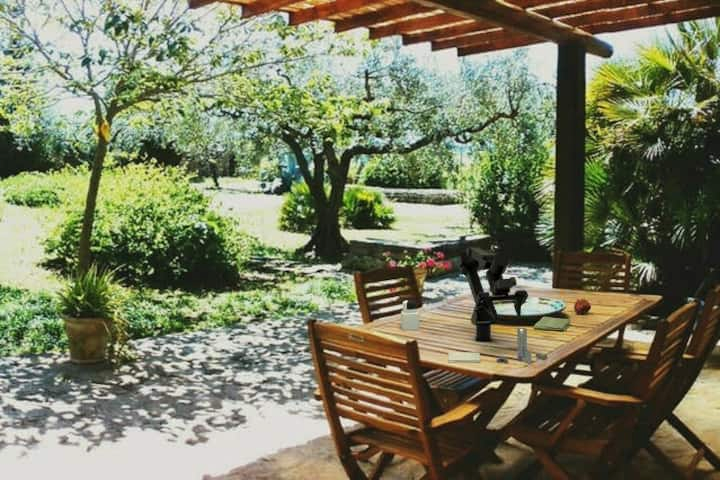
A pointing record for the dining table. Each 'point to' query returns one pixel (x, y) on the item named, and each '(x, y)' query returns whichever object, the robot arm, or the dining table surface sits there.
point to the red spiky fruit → (582, 306)
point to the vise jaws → (502, 359)
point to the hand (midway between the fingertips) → (507, 317)
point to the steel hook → (522, 346)
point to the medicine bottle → (410, 316)
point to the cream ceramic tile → (464, 357)
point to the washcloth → (552, 324)
